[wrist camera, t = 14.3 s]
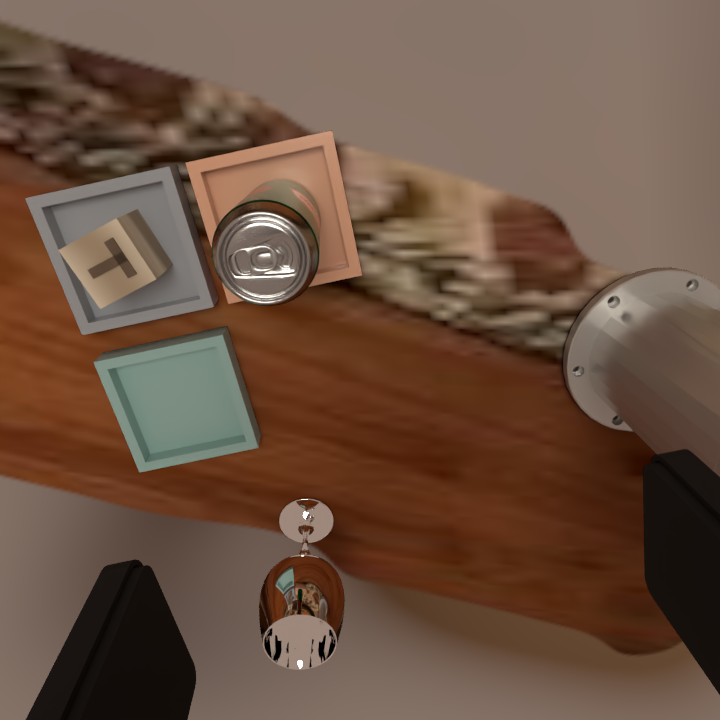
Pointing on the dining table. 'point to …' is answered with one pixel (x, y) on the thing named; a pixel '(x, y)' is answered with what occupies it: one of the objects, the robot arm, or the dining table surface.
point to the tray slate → (167, 222)
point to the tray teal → (180, 399)
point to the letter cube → (117, 258)
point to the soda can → (269, 244)
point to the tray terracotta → (292, 163)
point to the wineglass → (302, 594)
